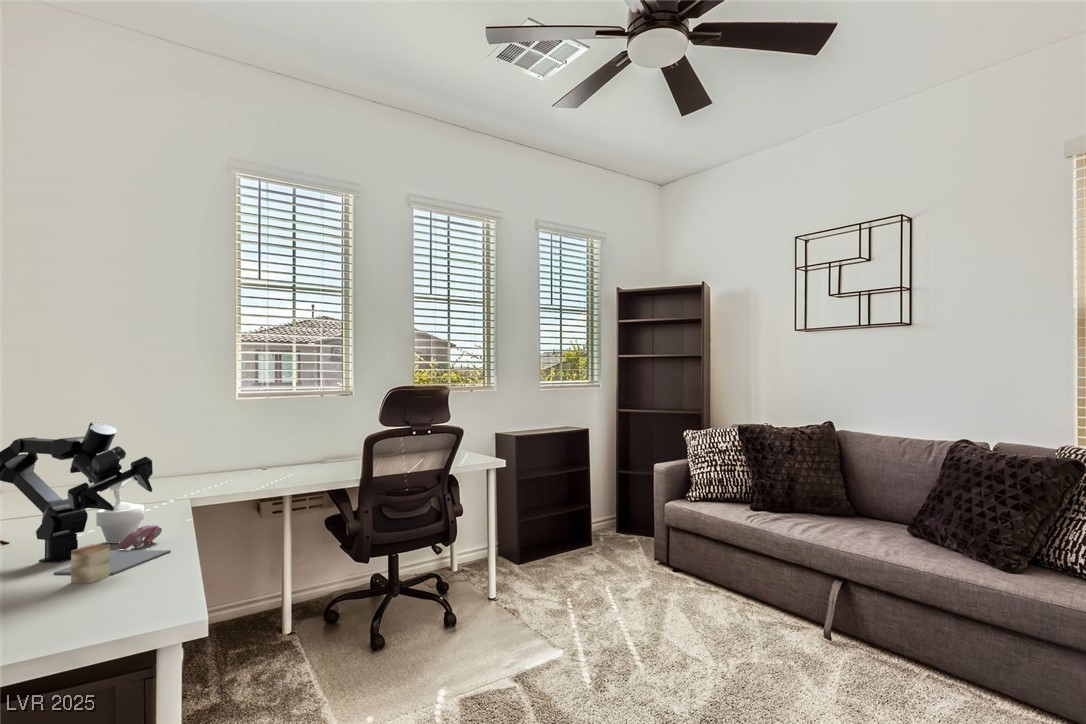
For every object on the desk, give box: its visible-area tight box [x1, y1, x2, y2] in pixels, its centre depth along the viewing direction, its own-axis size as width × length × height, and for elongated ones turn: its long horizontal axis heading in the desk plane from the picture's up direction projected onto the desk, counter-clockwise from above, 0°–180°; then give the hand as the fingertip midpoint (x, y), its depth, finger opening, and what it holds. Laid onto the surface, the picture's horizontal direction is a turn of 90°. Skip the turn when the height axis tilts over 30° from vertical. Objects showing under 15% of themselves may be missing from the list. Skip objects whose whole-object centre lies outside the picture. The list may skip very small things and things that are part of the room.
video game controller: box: [118, 524, 163, 550], centre depth 158 cm, size 10×5×7 cm, turn 169°
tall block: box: [70, 543, 111, 584], centre depth 130 cm, size 5×5×8 cm
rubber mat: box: [53, 549, 171, 576], centre depth 143 cm, size 16×18×1 cm
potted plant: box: [95, 459, 145, 544], centre depth 165 cm, size 13×12×25 cm
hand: (132, 499), depth 141 cm, fingers open, 9 cm apart
